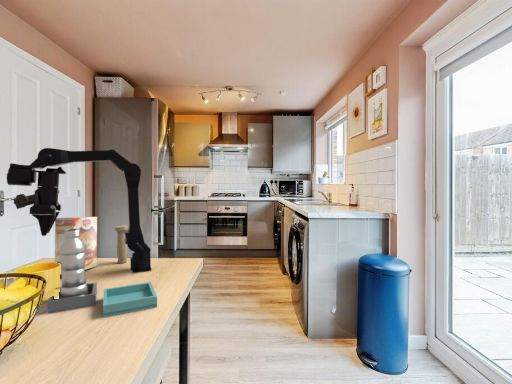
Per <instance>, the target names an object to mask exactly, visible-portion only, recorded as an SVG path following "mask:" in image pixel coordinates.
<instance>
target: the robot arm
mask: <svg viewBox="0 0 512 384" xmlns="http://www.w3.org/2000/svg"><path fill="white" fill-rule="evenodd" d="M91 162H92V163H93V162H94V163H95V162H110V163H112V164H113V165H114V166H115V167H117V169H119V170H120V171H121V172H122V174H123V175H122V176H123V179H124V182H125V186H126V194H127V196H126V197H127V214H128V215H127V216H128V230H127V231H124V234H125V240H124V242H125V244H127V249H129V250H130V251H131V252H132V253H131V256H130V258H129V262H130V264H129V265H130V270H131V271H132V273H140V272H145V271H146V272H147V271H148V272H149V271H152V266H151V251H152V249H151V247H150V246H149V245H148V244H147V243H146V242H145V239H144V234H143V232H142V228H141V221H140V220H141V218H140V200H139V195H140V194H139V187H140V181H141V174H142V169H141V167H140V166H139V164H136V163H134V162H130V160H128V159H127V158H125V157H124V156H123V155H122V154H120V153H118V151H117V150H115V149H109V150H105V149H103V150H66V149H60V148H53V147H52V148H51V147H45V148H41V150H39V151H38V153H37V158H35V159H34V160H33V161H32V162H31V163H30V164H18V163H9V168H8V171H7V173H6V183H7V185H8V186H19V187H20V186H22V187H31V186H32V184H36V181H37V186H36V187H37V188H36V189H35V190H34V193H33V194H30V195H26V194H24V193H20V194H16V196H15V198H14V199H13V204H14V205H15V207H16V210H18V209H23V208H25V207H28V206H30V205H31V206H30V207H29V215H31V216H32V217H34V218H35V219H37V221H38V225H39V229H40V233H41V236H44V237H45V236H47V235H48V234H50V232H51V230H52V229H53V226H54V224H55V220H56V218H58V216H59V215H60V214H61V211H62V204H61V203H59V194H60V190H59V187H60V186H59V185H60V175H66V174H67V172H66V171H65V170H64V169H63V168H62V166H63V165H68V164H72V163H91ZM57 166H58V167H57ZM51 167H52V168H51ZM54 167H57V168H54ZM44 168H46V169H45V170H42V169H44ZM36 169H37V170H36Z"/></svg>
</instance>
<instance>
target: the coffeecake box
mask: <svg viewBox="0 0 512 384" xmlns="http://www.w3.org/2000/svg"><path fill="white" fill-rule="evenodd" d="M54 224H55V225H54V263H55V262H57V263H60V264H61V262H60V257H59V251H58V250H59V247H60V245H61V244H62V243H63V241H64V240H65V237H64V231H65V230H67V229H80V234H81V236H79V237H80V239H81V240H82V241H83V242H84V243H85V245H86V257H85V271H86V270H89V269H91V268H94V267H97V266H98V261H97V260H98V258H97V257H98V253H97V252H98V250H97V249H98V216H80V217H79V216H78V217H77V216H76V217H75V216H74V217H59V218H58V217H57V218H56V220H55V222H54ZM60 275H62V269H61V274H60Z"/></svg>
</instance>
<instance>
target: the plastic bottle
mask: <svg viewBox="0 0 512 384" xmlns="http://www.w3.org/2000/svg"><path fill="white" fill-rule="evenodd" d="M79 236H81V234H80V229H67V230H65V231H64V237H65V240H64V241H63V243H62V244H61V245H60V247H59V250H58V251H59V257H60V262H61V269H62V274H61V285H60V286H61V290H60V298H67V297H74V296H80V295H87V294H88V287H87V284H88V283H87V277H86V270H85V257H86V245H85V243H84V242H83V241H82V240H81V239H80V237H79Z"/></svg>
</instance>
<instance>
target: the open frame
mask: <svg viewBox="0 0 512 384" xmlns="http://www.w3.org/2000/svg"><path fill="white" fill-rule="evenodd" d="M61 287H62V286H61ZM61 287H60V290H61ZM87 287H88V294H87V295H80V296H74V297H67V298H60V292H59V299H54V296H52V297H50V296H49V297H50V298H48V300H47V301H46V302H47V304H46V305H47V314H52V313H58V312H63V311H70V310H76V309H77V310H78V309H82V308H87V307H88V308H89V307H93V306H96V304H97V296H98V295H97V294H98V282H97V281H96V282H89V283H87Z"/></svg>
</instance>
